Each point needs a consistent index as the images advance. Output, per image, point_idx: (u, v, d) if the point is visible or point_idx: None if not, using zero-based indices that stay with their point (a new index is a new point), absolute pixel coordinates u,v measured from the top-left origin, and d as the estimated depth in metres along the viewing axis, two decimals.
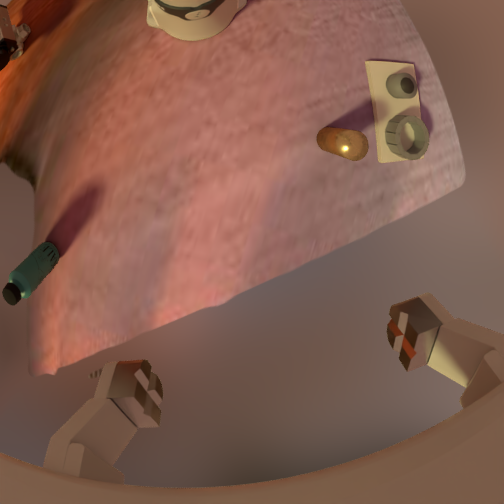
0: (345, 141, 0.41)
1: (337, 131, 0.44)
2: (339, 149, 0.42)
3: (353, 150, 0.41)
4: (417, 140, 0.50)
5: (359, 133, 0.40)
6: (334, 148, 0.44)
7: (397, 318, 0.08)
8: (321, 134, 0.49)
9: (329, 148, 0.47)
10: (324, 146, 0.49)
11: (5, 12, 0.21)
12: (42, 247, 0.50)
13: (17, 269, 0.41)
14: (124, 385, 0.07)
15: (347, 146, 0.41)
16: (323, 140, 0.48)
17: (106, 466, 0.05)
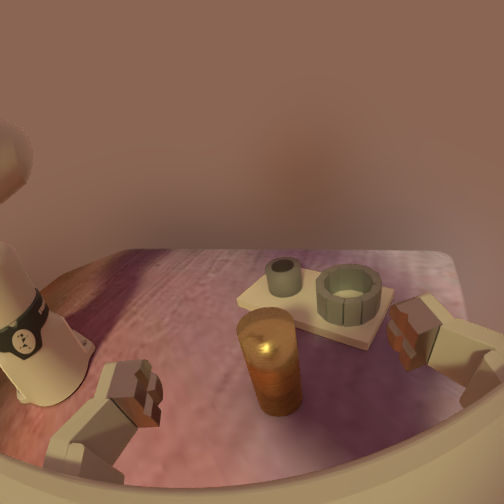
0: (245, 334, 0.23)
1: None
2: (254, 353, 0.23)
3: (268, 331, 0.23)
4: (363, 286, 0.40)
5: (255, 311, 0.26)
6: (258, 368, 0.24)
7: (397, 318, 0.08)
8: (257, 396, 0.28)
9: (267, 387, 0.25)
10: (269, 399, 0.26)
11: None
12: None
13: None
14: (124, 385, 0.07)
15: (255, 335, 0.23)
16: (259, 394, 0.26)
17: (106, 466, 0.05)
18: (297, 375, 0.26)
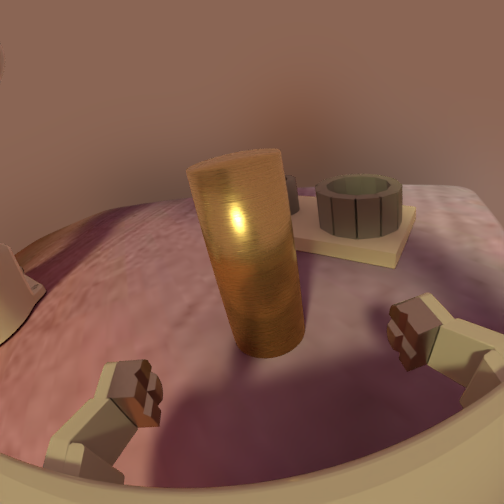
0: (198, 168, 0.14)
1: None
2: (210, 191, 0.13)
3: (237, 159, 0.14)
4: None
5: (220, 156, 0.16)
6: (219, 231, 0.14)
7: (397, 318, 0.08)
8: (229, 321, 0.18)
9: (239, 281, 0.15)
10: (247, 316, 0.16)
11: None
12: None
13: None
14: (124, 385, 0.07)
15: (213, 165, 0.13)
16: (229, 306, 0.17)
17: (106, 466, 0.05)
18: (293, 266, 0.16)
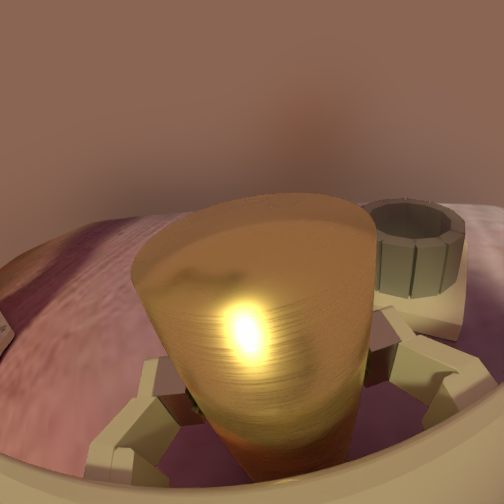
0: (161, 263, 0.05)
1: None
2: (190, 355, 0.04)
3: (263, 246, 0.05)
4: (424, 234, 0.22)
5: (219, 206, 0.08)
6: (222, 415, 0.05)
7: None
8: None
9: (262, 462, 0.06)
10: (270, 480, 0.08)
11: None
12: None
13: None
14: (171, 381, 0.07)
15: (199, 265, 0.05)
16: (240, 464, 0.08)
17: (154, 470, 0.05)
18: (355, 419, 0.07)
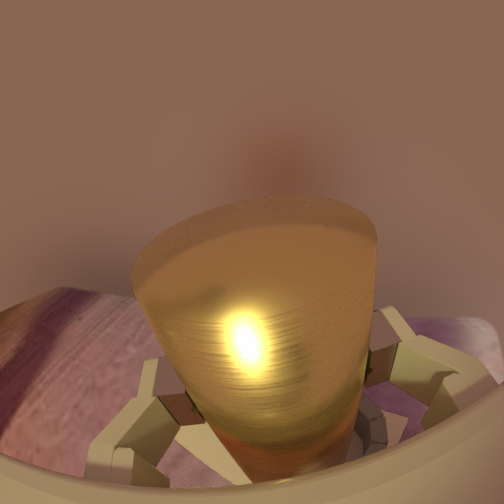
0: (161, 267, 0.05)
1: None
2: (191, 360, 0.04)
3: (263, 252, 0.05)
4: None
5: (219, 210, 0.08)
6: (221, 418, 0.05)
7: None
8: None
9: (261, 464, 0.06)
10: None
11: None
12: None
13: None
14: (171, 381, 0.07)
15: (199, 270, 0.05)
16: (240, 466, 0.08)
17: (154, 470, 0.05)
18: (354, 421, 0.07)
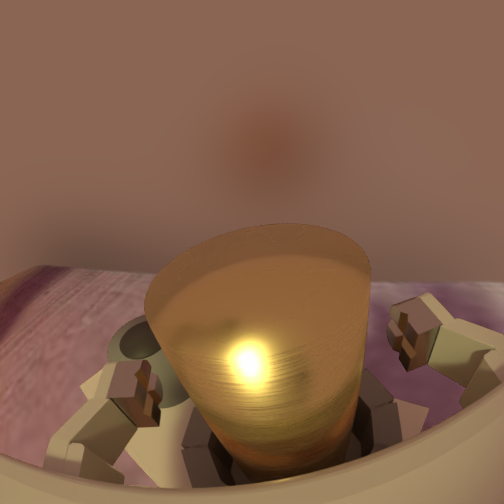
0: (172, 300, 0.06)
1: None
2: (203, 385, 0.05)
3: (267, 288, 0.06)
4: None
5: (223, 238, 0.08)
6: (229, 431, 0.06)
7: (397, 318, 0.08)
8: None
9: (264, 470, 0.07)
10: None
11: None
12: None
13: None
14: (124, 385, 0.07)
15: (208, 306, 0.05)
16: (244, 471, 0.09)
17: (106, 466, 0.05)
18: (350, 430, 0.08)
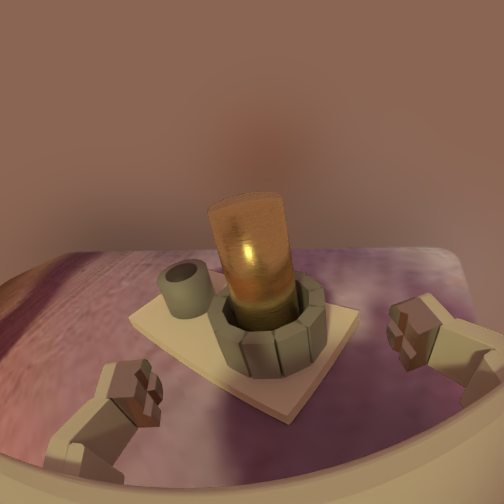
0: (218, 211, 0.18)
1: None
2: (228, 232, 0.17)
3: (248, 205, 0.18)
4: (301, 306, 0.25)
5: (233, 197, 0.21)
6: (235, 261, 0.18)
7: (397, 318, 0.08)
8: None
9: (250, 298, 0.19)
10: (255, 325, 0.20)
11: None
12: None
13: None
14: (124, 385, 0.07)
15: (230, 210, 0.18)
16: (241, 317, 0.21)
17: (106, 466, 0.05)
18: (292, 285, 0.20)
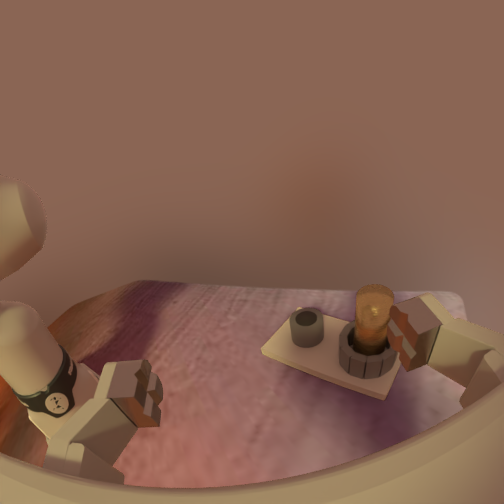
0: (365, 302, 0.33)
1: (355, 320, 0.36)
2: (372, 314, 0.32)
3: (379, 299, 0.33)
4: None
5: (364, 288, 0.36)
6: (371, 326, 0.33)
7: (397, 318, 0.08)
8: None
9: (372, 341, 0.35)
10: (369, 352, 0.36)
11: None
12: None
13: None
14: (124, 385, 0.07)
15: (372, 302, 0.33)
16: (362, 349, 0.36)
17: (106, 466, 0.05)
18: None
